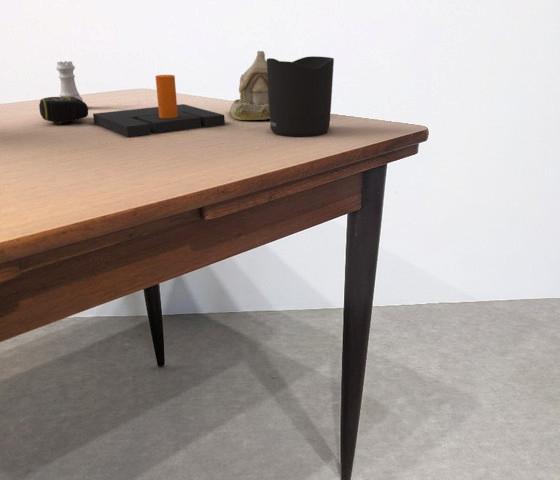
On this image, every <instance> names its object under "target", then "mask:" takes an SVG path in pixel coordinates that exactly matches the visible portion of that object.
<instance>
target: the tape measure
mask: <svg viewBox="0 0 560 480" xmlns="http://www.w3.org/2000/svg"><path fill="white" fill-rule="evenodd" d="M38 105H39V106H38V107H39V114H40V116H41V118H42V119H43V120H44V121H47V122H53V123H54V124H56V125H60V124H62V123H66V122H73V121H74V122H76V121H78V120H81V119H85V118H87V117H88V115H89V107H88V105H87V104H86V102H85V101H81V100H79V99H77V98H75V97H60V96H47V97H43V98H41V99H40V101H39V103H38Z"/></svg>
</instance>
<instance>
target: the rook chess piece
mask: <svg viewBox="0 0 560 480" xmlns="http://www.w3.org/2000/svg"><path fill="white" fill-rule="evenodd" d="M56 63H57V65H56V67H55V69H56V70H57V71H58V73H59V75H58V78H59V81H60V94H59V97H75V98H77V99H79V100H81V101H83V97H82V96H81V95H80V93H79V90H78V89H77V85H76V81H75V78H76V75H75V74H74V70H75V69H76V66H75V65H74V63H73V61H71V60H70V61H67V60H65V61H57V62H56ZM83 102H84V101H83Z"/></svg>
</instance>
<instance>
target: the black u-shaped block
mask: <svg viewBox="0 0 560 480" xmlns="http://www.w3.org/2000/svg"><path fill="white" fill-rule="evenodd" d="M177 112H183V113H187V114H190V115H194V116H197V117H200V118H201V127H204V128H209V127H210V128H211V127H216V126H224V125H225V124H226V122H225V119H226V118H225V114H223V113H222V114H221V113H219V112H215V111H212V110H207V109H203V108H199V107H196V106H193V105H187V104H184V103H182V104H177ZM150 115H159V109H158V106H153V107H144V108H143V107H142V108H135V109H124V110H115V111H105V112H94V113H93V114H92V117H93V123H94V124H95V125H98V126H100V127H103V128H105V129H106V130H107V129H108V130H110V131H112V132H115V133H118V134H120V135H122V136H125V137H127V138H132V137H139V136H146V135H147V136H148V135H151V131H150V124H148V123H145V122H142V121H140V120H137V117H141V116H150Z"/></svg>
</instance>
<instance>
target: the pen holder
mask: <svg viewBox="0 0 560 480" xmlns="http://www.w3.org/2000/svg"><path fill="white" fill-rule="evenodd" d="M266 61H267V77H268V96H269V112H270V119H269V125H270V130H271V131H272V133H274V134H276V135H278V136H279V135H280V136H285V137H286V136H288V137H313V136H320V135H324V134H326V133H328V131H329V130H330V125H331V124H330V123H331V113H332V112H331V111H332V98H333V97H332V96H333V81H334V80H333V79H334V64H335V58H333V57H330V56H316V55H315V56H314V55H313V56H305V57H300V58H298V59H296V60H294V61H286V60H278V59H276V58H267V59H266Z"/></svg>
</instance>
